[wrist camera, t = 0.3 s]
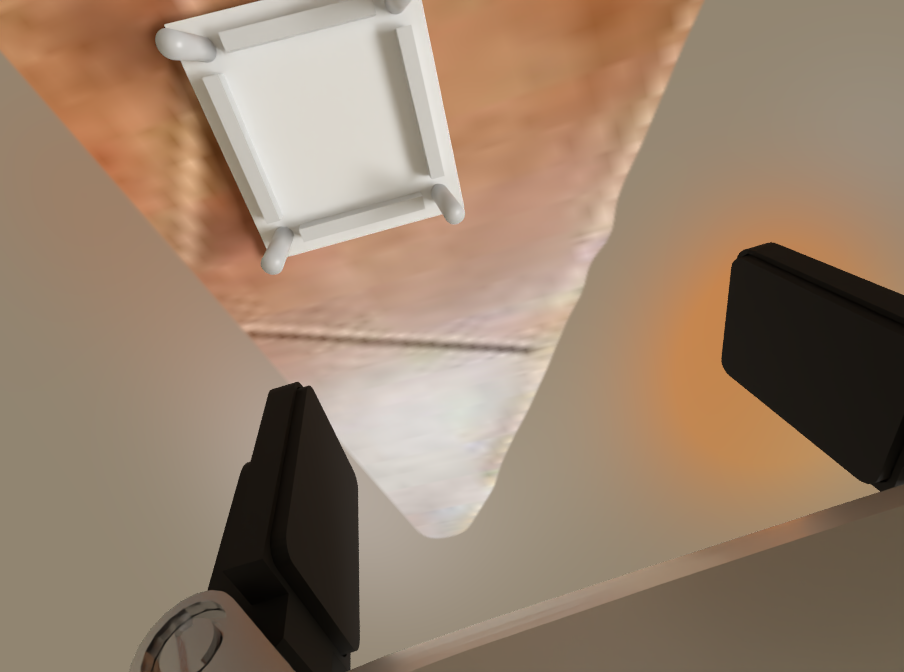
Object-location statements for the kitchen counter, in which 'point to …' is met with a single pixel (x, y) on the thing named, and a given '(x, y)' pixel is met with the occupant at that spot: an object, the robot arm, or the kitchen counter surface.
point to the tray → (323, 116)
